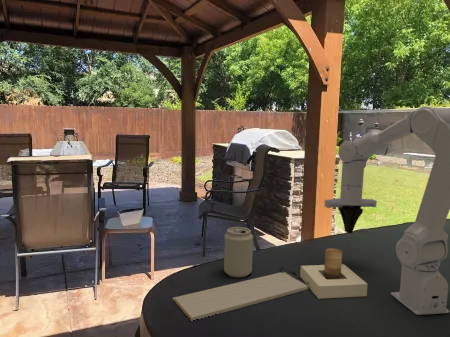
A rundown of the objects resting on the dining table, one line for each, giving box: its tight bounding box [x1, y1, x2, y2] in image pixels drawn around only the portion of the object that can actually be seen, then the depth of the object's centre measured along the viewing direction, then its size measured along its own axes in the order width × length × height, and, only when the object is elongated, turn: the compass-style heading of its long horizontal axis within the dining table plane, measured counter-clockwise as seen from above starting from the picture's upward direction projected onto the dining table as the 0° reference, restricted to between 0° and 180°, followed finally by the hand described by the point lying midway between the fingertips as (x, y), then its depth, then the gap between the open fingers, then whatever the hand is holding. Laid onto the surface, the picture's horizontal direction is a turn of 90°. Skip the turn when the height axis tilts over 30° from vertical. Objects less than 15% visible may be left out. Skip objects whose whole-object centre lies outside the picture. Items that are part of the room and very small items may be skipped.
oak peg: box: [324, 247, 343, 280], centre depth 90 cm, size 4×4×9 cm
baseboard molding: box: [172, 266, 309, 322], centre depth 86 cm, size 31×3×12 cm
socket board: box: [299, 263, 369, 300], centre depth 91 cm, size 12×12×3 cm
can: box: [223, 226, 254, 279], centre depth 96 cm, size 8×8×12 cm
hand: (348, 232), depth 103 cm, fingers closed
